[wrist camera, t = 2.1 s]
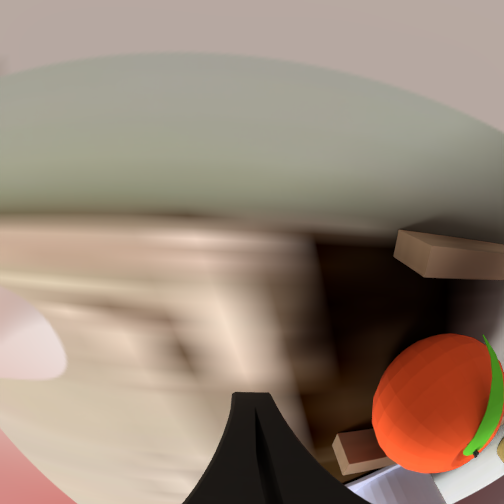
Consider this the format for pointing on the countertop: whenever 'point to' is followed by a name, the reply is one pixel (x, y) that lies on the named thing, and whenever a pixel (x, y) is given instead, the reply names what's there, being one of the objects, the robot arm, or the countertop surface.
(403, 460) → the clementine
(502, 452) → the paper tube
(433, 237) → the holder
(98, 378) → the countertop surface
